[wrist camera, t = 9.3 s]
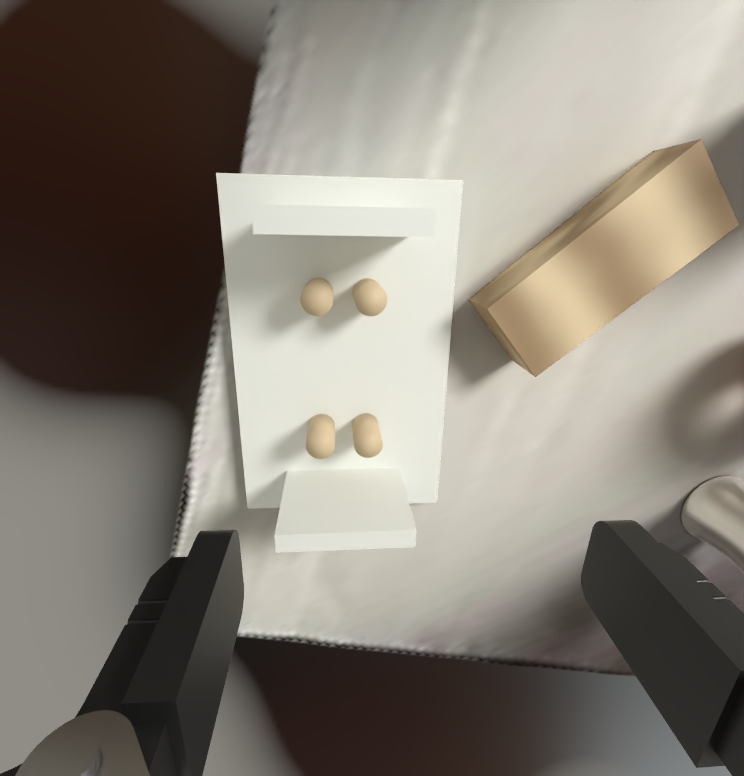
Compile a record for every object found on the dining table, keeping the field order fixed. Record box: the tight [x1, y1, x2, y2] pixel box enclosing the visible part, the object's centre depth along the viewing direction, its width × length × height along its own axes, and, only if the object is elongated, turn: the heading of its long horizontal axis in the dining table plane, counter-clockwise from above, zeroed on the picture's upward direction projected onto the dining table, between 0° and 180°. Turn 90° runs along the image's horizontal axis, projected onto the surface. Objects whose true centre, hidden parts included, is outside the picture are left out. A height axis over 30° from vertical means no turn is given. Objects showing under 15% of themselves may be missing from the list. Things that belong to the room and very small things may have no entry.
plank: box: [469, 139, 739, 377], centre depth 27 cm, size 14×6×4 cm, turn 129°
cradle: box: [216, 173, 463, 553], centre depth 26 cm, size 22×14×8 cm, turn 179°
